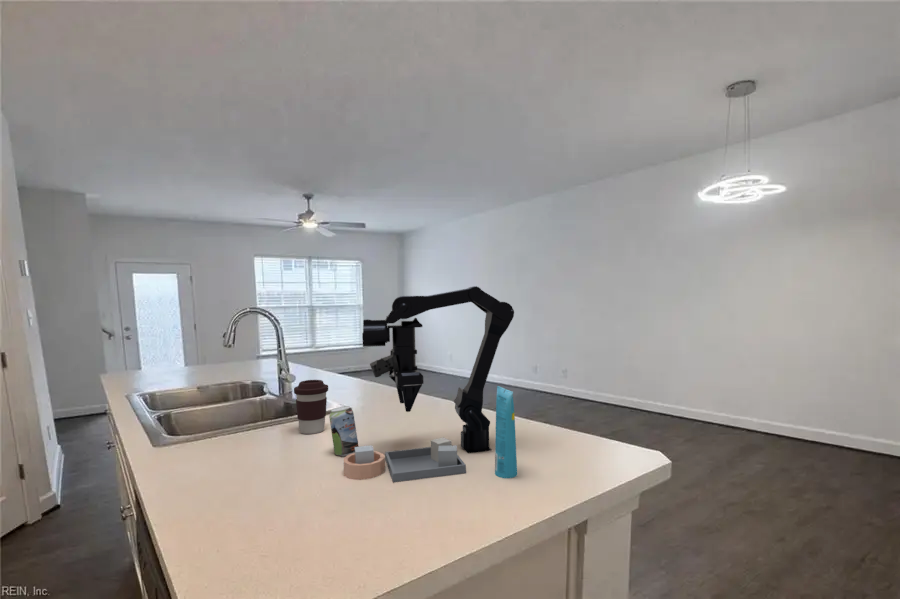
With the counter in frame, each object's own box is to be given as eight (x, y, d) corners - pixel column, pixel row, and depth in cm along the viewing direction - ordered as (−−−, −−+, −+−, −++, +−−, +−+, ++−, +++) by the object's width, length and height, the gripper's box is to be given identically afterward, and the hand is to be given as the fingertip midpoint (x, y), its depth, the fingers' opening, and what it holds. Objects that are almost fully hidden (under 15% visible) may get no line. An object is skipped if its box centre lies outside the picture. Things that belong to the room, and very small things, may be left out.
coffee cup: (310, 438, 126) (309, 385, 126) (287, 433, 131) (286, 382, 131) (335, 429, 135) (335, 380, 135) (313, 424, 140) (313, 377, 140)
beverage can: (352, 459, 108) (351, 411, 108) (325, 458, 110) (324, 410, 110) (362, 451, 114) (362, 405, 114) (336, 449, 116) (335, 404, 116)
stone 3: (457, 465, 102) (456, 445, 102) (457, 471, 98) (457, 450, 98) (439, 465, 102) (438, 445, 102) (438, 471, 98) (438, 451, 98)
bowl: (382, 463, 105) (381, 449, 105) (386, 478, 96) (386, 462, 96) (343, 468, 103) (343, 453, 103) (344, 483, 94) (344, 467, 94)
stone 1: (372, 466, 102) (372, 445, 102) (374, 472, 98) (373, 450, 98) (354, 468, 101) (354, 447, 101) (355, 474, 97) (355, 452, 97)
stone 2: (443, 455, 109) (443, 437, 109) (451, 458, 106) (451, 440, 106) (430, 458, 107) (430, 440, 107) (438, 462, 104) (438, 443, 104)
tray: (449, 453, 111) (449, 444, 111) (466, 475, 97) (465, 464, 97) (385, 461, 107) (385, 451, 107) (393, 484, 93) (392, 473, 93)
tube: (524, 479, 94) (523, 390, 94) (505, 484, 92) (504, 392, 92) (505, 468, 101) (504, 384, 101) (487, 472, 99) (486, 386, 99)
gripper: (368, 343, 118) (369, 401, 118) (375, 351, 100) (376, 419, 100) (409, 341, 121) (410, 398, 121) (423, 348, 103) (424, 415, 103)
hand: (405, 407), depth 111 cm, fingers open, 9 cm apart
